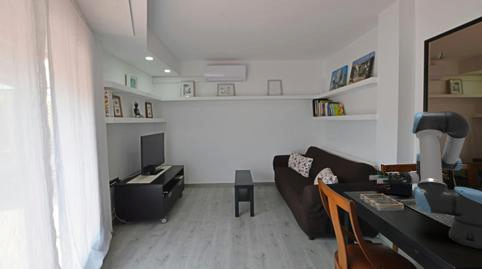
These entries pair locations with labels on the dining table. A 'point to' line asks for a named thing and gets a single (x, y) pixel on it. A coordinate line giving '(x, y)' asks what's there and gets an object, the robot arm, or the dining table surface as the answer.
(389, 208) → the tray
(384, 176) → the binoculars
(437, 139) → the robot arm
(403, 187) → the speaker
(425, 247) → the dining table surface
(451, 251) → the dining table surface
